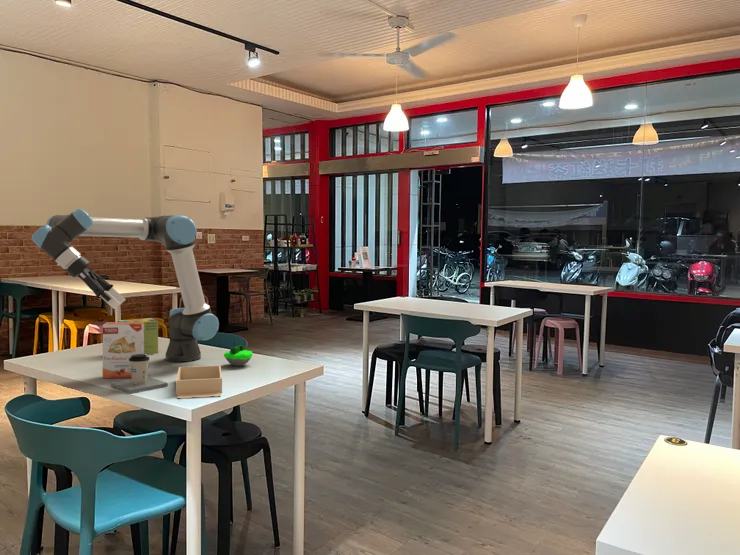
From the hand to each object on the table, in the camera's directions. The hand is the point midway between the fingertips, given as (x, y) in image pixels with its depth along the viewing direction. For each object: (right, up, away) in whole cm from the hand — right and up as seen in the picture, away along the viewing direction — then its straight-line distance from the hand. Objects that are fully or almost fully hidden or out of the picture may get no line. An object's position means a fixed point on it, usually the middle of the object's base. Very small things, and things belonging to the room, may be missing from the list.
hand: (120, 304), depth 200 cm
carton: (+28, -30, +1) cm, 41 cm away
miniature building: (+34, -28, +37) cm, 58 cm away
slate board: (+7, -30, -1) cm, 30 cm away
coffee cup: (+7, -29, -1) cm, 29 cm away
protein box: (-18, -26, +57) cm, 65 cm away
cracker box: (-5, -29, +13) cm, 32 cm away
